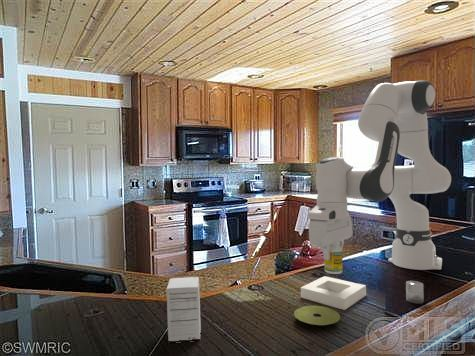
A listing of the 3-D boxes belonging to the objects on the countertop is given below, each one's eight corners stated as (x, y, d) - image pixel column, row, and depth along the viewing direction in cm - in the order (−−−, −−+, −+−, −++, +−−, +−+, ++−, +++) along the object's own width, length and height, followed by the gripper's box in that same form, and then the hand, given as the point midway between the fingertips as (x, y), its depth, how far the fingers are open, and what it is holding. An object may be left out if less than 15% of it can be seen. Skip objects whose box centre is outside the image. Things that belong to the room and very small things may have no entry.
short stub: (409, 296, 97) (408, 279, 97) (425, 300, 94) (425, 282, 94) (404, 300, 94) (403, 283, 94) (421, 304, 91) (420, 287, 91)
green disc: (286, 317, 86) (286, 309, 86) (322, 309, 90) (322, 302, 90) (310, 336, 75) (310, 328, 75) (350, 327, 79) (350, 319, 79)
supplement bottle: (332, 267, 102) (331, 237, 102) (346, 272, 98) (346, 240, 97) (320, 271, 99) (319, 239, 99) (334, 275, 95) (334, 242, 95)
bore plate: (324, 285, 109) (324, 276, 109) (366, 295, 99) (366, 285, 99) (300, 297, 99) (300, 287, 99) (344, 310, 89) (344, 299, 89)
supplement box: (171, 328, 81) (169, 277, 81) (201, 326, 82) (199, 276, 82) (167, 343, 74) (165, 288, 74) (200, 341, 74) (198, 286, 74)
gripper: (338, 207, 108) (339, 249, 108) (304, 213, 93) (305, 262, 93) (357, 208, 103) (358, 251, 104) (324, 215, 89) (325, 266, 89)
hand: (333, 256), depth 98 cm, fingers closed on supplement bottle, 5 cm apart
